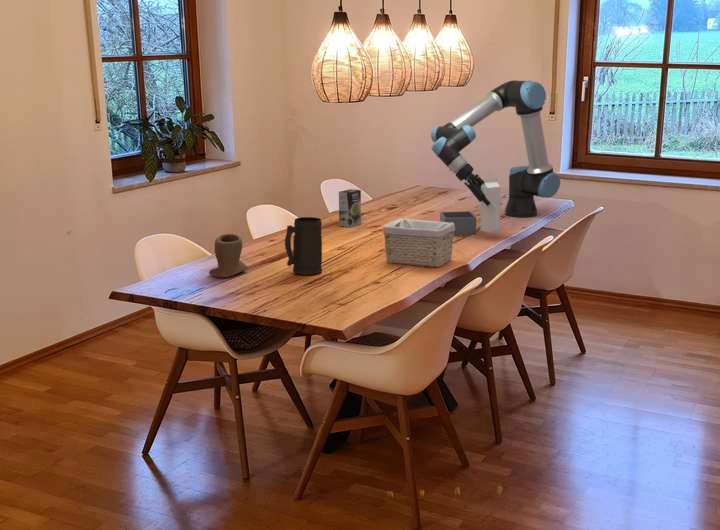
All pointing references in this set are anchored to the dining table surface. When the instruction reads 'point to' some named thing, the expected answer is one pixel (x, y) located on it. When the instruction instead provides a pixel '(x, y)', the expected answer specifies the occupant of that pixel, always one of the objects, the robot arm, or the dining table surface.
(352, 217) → the coffee box
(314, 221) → the beer stein
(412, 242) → the storage basket
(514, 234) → the dining table surface
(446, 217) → the tray
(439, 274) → the dining table surface
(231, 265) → the stone cup
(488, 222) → the milk
